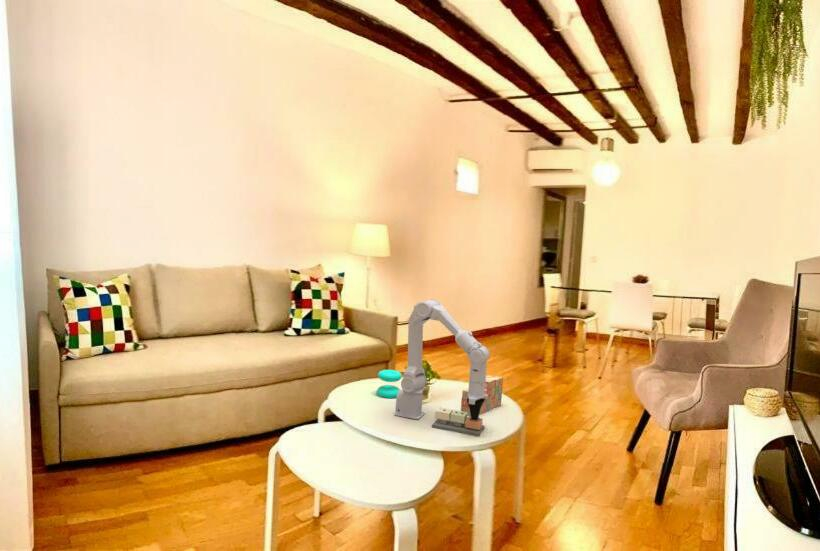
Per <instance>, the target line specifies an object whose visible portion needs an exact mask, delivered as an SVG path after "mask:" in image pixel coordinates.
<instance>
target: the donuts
mask: <svg viewBox="0 0 820 551" xmlns="http://www.w3.org/2000/svg"><path fill="white" fill-rule="evenodd" d="M377 376H378V379H379V380H381V381H383V382H386V383H396V382H399V381H400V380H402V379H403V377H402V376H403V375H402V373H401V372H400V371H398V370H394V369H383V370H380V371H379V372H378V374H377ZM399 390H401V389H400V388H399V387H398V386H396V385H392V384H390V385H389V384H386V385H384V384H383V385H381V386H379V387H377V389H376V393H377V396H379V397H382V398H385V399H395V398H397V394H398V391H399Z"/></svg>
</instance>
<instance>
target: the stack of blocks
mask: <svg viewBox="0 0 820 551" xmlns="http://www.w3.org/2000/svg"><path fill="white" fill-rule="evenodd" d="M503 386H504V377H501V376H498V375H493V374H486V383H485V394H488V397H487V398H485V397H484V399H485V401H484V402H483V404H482V407H481V409H480V413H479V416H480V415H482V414H485V413H488V412H490V411H492V410H495V409H497V407H498V408H499V406H500V407H502V398H503V396H502V395H503ZM468 389H469V387H467V388H465V389H462V391H461V393H462V396H461V403H460V411H463V412H468V417H469V416H471V415H470V408H469V405H468V403H467V399H468V398H469V397H468ZM494 408H495V409H494Z"/></svg>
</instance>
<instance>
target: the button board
mask: <svg viewBox="0 0 820 551" xmlns="http://www.w3.org/2000/svg"><path fill="white" fill-rule="evenodd" d="M465 423H466V422H465ZM465 423H459V422H453V421H450V420H449V421H448V420H443V419H437V418H436V420H435V421H434V422H433V423H432V424H431V428H434V429H439V430H444V431H449V432H454V433H460V434H466V435H470V436H475V437H480V436H481V434H482V433H483V431H484V430H485V425H484V424H482V426H481V428H480V430H477V429H472V428H466V427H465Z"/></svg>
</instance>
